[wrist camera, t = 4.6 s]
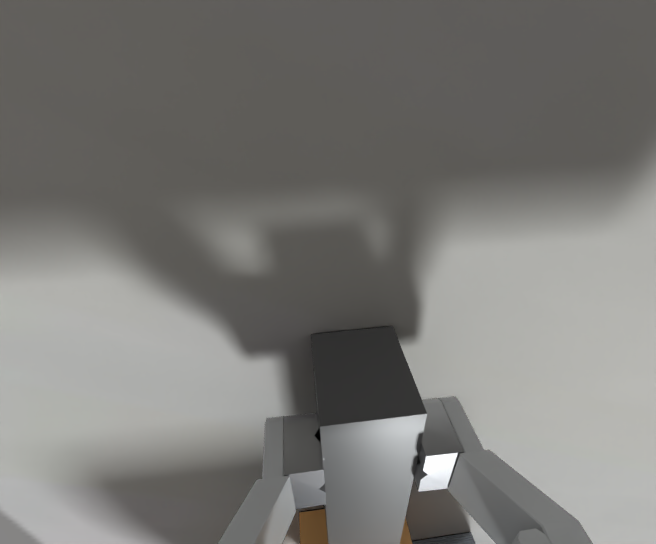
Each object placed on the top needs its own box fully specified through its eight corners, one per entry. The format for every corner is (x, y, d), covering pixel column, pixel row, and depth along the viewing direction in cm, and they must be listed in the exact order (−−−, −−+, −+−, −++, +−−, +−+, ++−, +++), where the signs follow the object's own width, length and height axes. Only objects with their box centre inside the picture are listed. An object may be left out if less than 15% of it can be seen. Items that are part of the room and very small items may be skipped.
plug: (269, 338, 10) (258, 540, 6) (432, 322, 11) (530, 501, 6) (305, 552, 19) (312, 691, 15) (393, 539, 20) (422, 672, 15)
